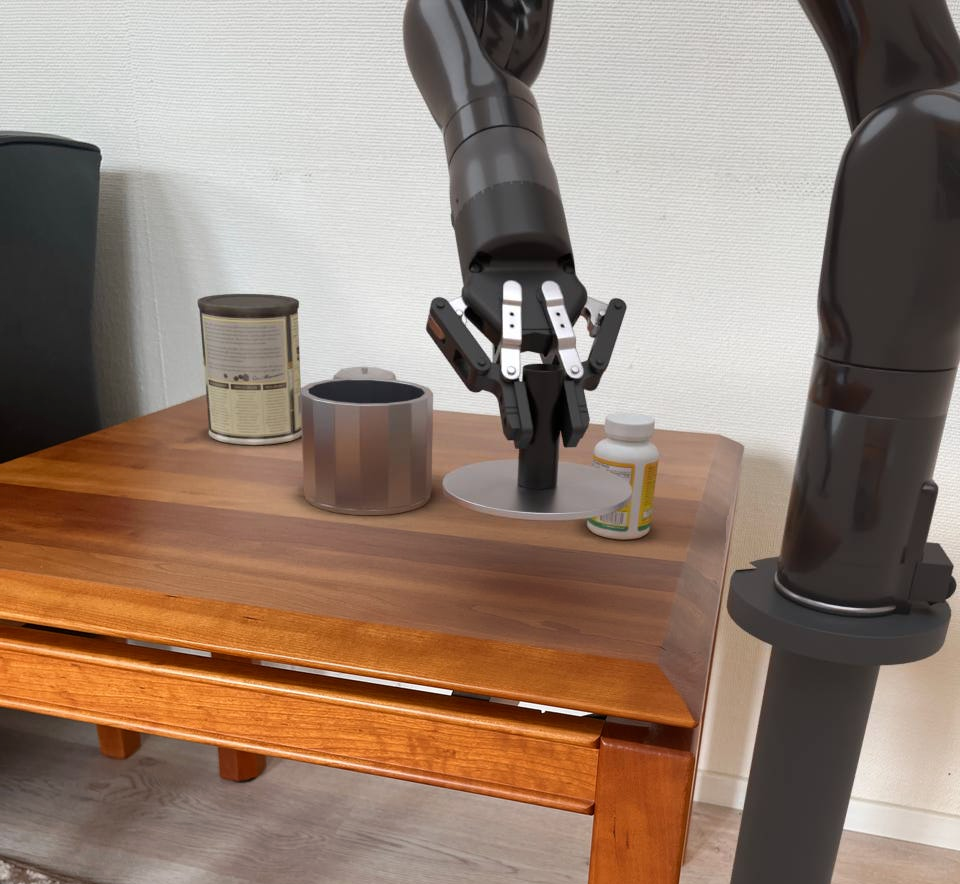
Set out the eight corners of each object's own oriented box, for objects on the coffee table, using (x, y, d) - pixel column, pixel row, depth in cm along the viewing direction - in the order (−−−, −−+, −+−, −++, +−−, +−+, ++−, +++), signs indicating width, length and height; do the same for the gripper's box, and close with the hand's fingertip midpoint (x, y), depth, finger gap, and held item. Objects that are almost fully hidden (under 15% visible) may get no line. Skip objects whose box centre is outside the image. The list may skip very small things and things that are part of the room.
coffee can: (195, 427, 113) (184, 294, 107) (283, 419, 118) (277, 292, 112) (225, 449, 105) (215, 307, 99) (318, 440, 110) (314, 304, 104)
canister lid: (635, 481, 72) (647, 356, 68) (624, 538, 61) (638, 393, 57) (463, 467, 74) (466, 345, 70) (422, 520, 63) (423, 378, 59)
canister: (442, 484, 97) (444, 383, 93) (413, 520, 87) (414, 409, 83) (327, 473, 99) (325, 374, 95) (285, 508, 89) (281, 398, 85)
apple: (406, 432, 115) (407, 373, 112) (337, 434, 113) (336, 374, 110) (390, 416, 122) (390, 359, 119) (324, 418, 120) (323, 361, 117)
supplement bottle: (601, 542, 84) (612, 426, 80) (577, 522, 88) (586, 411, 84) (660, 538, 85) (674, 424, 81) (633, 518, 90) (645, 409, 86)
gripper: (413, 173, 64) (449, 411, 59) (622, 179, 67) (675, 406, 62) (400, 256, 71) (431, 475, 65) (590, 258, 74) (635, 468, 68)
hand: (549, 440), depth 64 cm, fingers closed on canister lid, 2 cm apart
